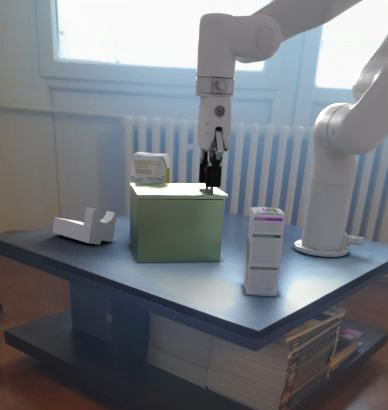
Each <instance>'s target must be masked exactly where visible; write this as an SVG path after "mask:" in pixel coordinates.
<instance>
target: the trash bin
mask: <svg viewBox="0 0 388 410" xmlns="http://www.w3.org/2000/svg"><path fill="white" fill-rule="evenodd" d="M224 210H225V199H137V197H136V196H135V194H134V192H133V191H132V189H131V188H130V187H129V244H130V247H131V250H132V252H133V255H134V257H135V259H136V263H138V264H139V263H195V262H197V263H200V262H207V263H208V262H220V261H221V252H222V237H223V222H224Z"/></svg>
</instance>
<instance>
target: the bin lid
mask: <svg viewBox="0 0 388 410" xmlns="http://www.w3.org/2000/svg"><path fill="white" fill-rule="evenodd" d="M206 166H208V165H206ZM206 166H204V169H203V170H204V172H205V173H206ZM178 183H179V182H174V183H173V182H170V183H131V182H129V189H130V188H131V189H132V191H133V192H134V194H135V196H136V197H137V199H223V200H229V194H227V193H226V192H224V191H223V190H221V189H220V188H219V187H206V186H205V183H192V184H178Z"/></svg>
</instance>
